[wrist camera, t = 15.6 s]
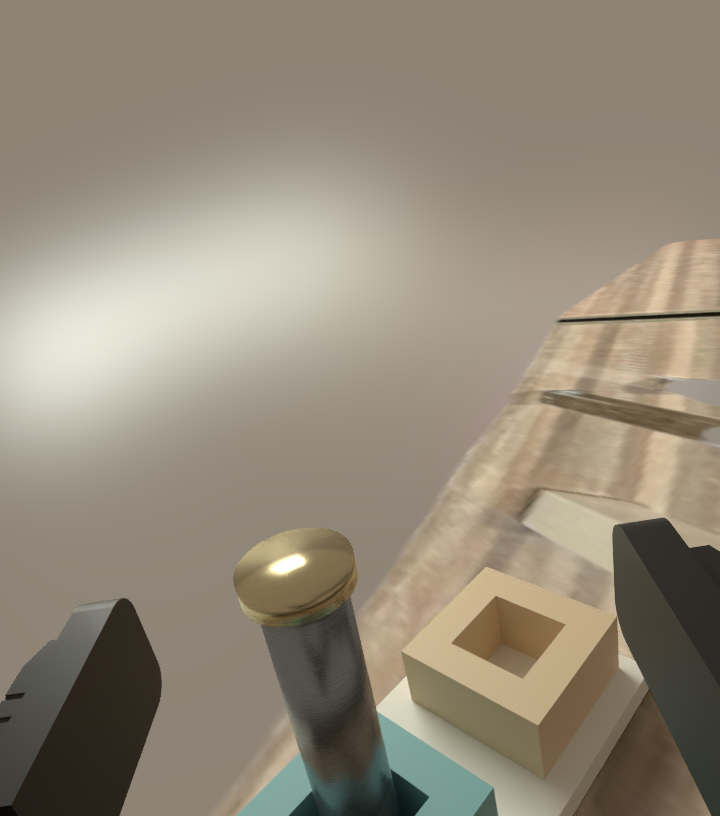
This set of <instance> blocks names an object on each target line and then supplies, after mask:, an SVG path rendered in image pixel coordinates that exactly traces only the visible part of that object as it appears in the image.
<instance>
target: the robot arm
mask: <svg viewBox="0 0 720 816" xmlns="http://www.w3.org/2000/svg"><path fill="white" fill-rule="evenodd" d="M613 562H614V587H615V604H616V611H617V616H618V620H619V624H620V627H621V630H622V633H623V636H624V638H625V641H626V643H627V645H628V647H629V649H630V651H631V653H632V655H633V657H634V659H635V661H636V663H637V665H638V667H639V669H640V671H641V673H642V675H643V677H644V679H645V681H646V683H647V685H648V688H649V690H650V692H651V694H652V696H653V698H654V700H655V702H656V704H657V706H658V708H659V710H660V712H661V714H662V716H663V718H664V720H665V722H666V724H667V726H668V728H669V730H670V732H671V734H672V736H673V738H674V740H675V742H676V744H677V746H678V748H679V750H680V752H681V755H682V757H683V759H684V761H685V763H686V765H687V767H688V769H689V771H690V773H691V775H692V777H693V779H694V781H695V783H696V785H697V787H698V789H699V791H700V793H701V795H702V797H703V799H704V801H705V803H706V805H707V807H708V809H709V811H710V813H711V815H712V816H720V551H718V550H716V549H715V548H713V547H712V546H710V545H706V546H700V547H693V548H689V547H688V546H687V544H686V543H685V542H684V540H683V539H682V538H681V536H680V535H679V534H678V532H677V531H676V530H675V528H674V527H673V526H672V524H671V523H670V522H669V521H668V520H667V519H665V518H658V519H651V520H644V521H638V522H631V523H625V524H618V525H615V526H614V528H613ZM161 681H162V680H161V672H160V667H159V664H158V661H157V660H156V657H155V654H154V652H153V650H152V647H151V645H150V643H149V640H148V638H147V636H146V634H145V631H144V629H143V626H142V624H141V622H140V620H139V617H138V615H137V613H136V610H135V608H134V606H133V604H132V603H131V602H130V601H129V600H128V599H125V598H121V599H115V600H108V601H102V602H95V603H90V604H83V605H80V606H78V607H77V608H76V609H75V610H74V612H73V613H72V615H71V617H70V618H69V620H68V622H67V623H66V625H65V627H64V629H63V630H62V632H61V634H60V635H59V637H58V639H57V640H51V641H49V642H48V643H47V644H46V645H45V646H44V647H43V648H42V649H41V650H40V651H39V652H38V653H37V654H36V655H35V656H34V657H33V658H32V659H31V660H30V661H29V662H28V663H27V664H25V665H24V667H23V668H22V669H21V671H20V673H19V674H18V676H17V677H16V679H15V681H14V682H13V684H12V685H11V687H10V689H9V690H8V692H7V694H6V695H5V696H6V700H5V701H2V702H1V703H0V816H119V815H120V812H121V809H122V807H123V804H124V801H125V798H126V796H127V793H128V790H129V787H130V784H131V781H132V779H133V776H134V773H135V770H136V767H137V764H138V761H139V759H140V756H141V753H142V750H143V747H144V745H145V742H146V739H147V736H148V733H149V730H150V728H151V725H152V722H153V719H154V716H155V714H156V710H157V708H158V705H159V702H160V697H161V687H162V684H161V683H162V682H161Z"/></svg>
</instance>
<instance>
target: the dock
mask: <svg viewBox="0 0 720 816" xmlns="http://www.w3.org/2000/svg"><path fill="white" fill-rule="evenodd" d="M401 652H402V657H403V661H404V666H405V671H406V675H407V676H406V677H405V678H404V679H403V680H402V681H401V682H400V683H399V684H398V685H397V686H396V687H395V688H394V689H393V690H392V691H391V692H390V694H389V695H388V696H387V697H386V698H385V699H384V700H383V701H382V702H381V703H380V704H379V705H378V706H377V707H376V710H377V714H378V719H379V723H380V727H381V732H382V736H383V740H384V744H385V749H386V753H387V757H388V762H389V766H390V770H391V775H392V779H393V783H394V788H395V792H396V796H397V801H398V805H399V809H400V813H401V816H573V815H574V813H575V812H576V810H577V808H578V807H579V805H580V803H581V802H582V800H583V798H584V797H585V795H586V793H587V792H588V790H589V788H590V787H591V785H592V783H593V782H594V780H595V778H596V777H597V775H598V773H599V772H600V770H601V768H602V767H603V765H604V763H605V762H606V760H607V758H608V757H609V755H610V753H611V752H612V750H613V748H614V747H615V745H616V743H617V742H618V740H619V738H620V737H621V735H622V733H623V732H624V730H625V728H626V727H627V725H628V723H629V722H630V720H631V718H632V717H633V715H634V713H635V712H636V710H637V708H638V707H639V705H640V703H641V702H642V700H643V698H644V697H645V695H646V693H647V692H648V690H649V688H648V685H647V683H646V681H645V679H644V677H643V675H642V673H641V671H640V669H639V667H638V665H637V663H636V661H635V660H632V659H630V658H628V657H625V656H623V655H620V654H618V630H617V616H615V615H612V614H610V613H607V612H604V611H602V610H599V609H596V608H594V607H591V606H589V605H586V604H583V603H581V602H578V601H575V600H573V599H570V598H567V597H565V596H562V595H560V594H557V593H554V592H552V591H549V590H546V589H544V588H541V587H538V586H536V585H533V584H530V583H528V582H525V581H523V580H520V579H517V578H515V577H512V576H509V575H507V574H504V573H501V572H499V571H496V570H493V569H491V568H488V567H485V568H484V569H483V570H482V571H481V572H480V573H479V574H478V575H477V576H476V577H475V578H474V579H473V580H472V581H471V582H470V583H469V584H468V585H467V586H466V587H465V588H464V589H463V590H462V591H461V592H460V593H459V594H458V595H457V596H456V597H455V598H454V599H453V600H452V601H451V602H450V603H449V604H448V605H447V606H446V607H445V608H444V609H443V610H442V611H441V612H440V613H439V614H438V615H437V616H436V617H435V618H434V619H433V620H432V621H431V622H430V623H429V624H428V625H427V626H426V627H425V628H424V629H423V630H422V631H421V632H420V633H419V634H418V635H417V636H416V637H415V638H414V639H413V640H412V641H411V642H410V643H409V644H408V645H407V646H406V647H405V648H404V649H403V650H402V651H401ZM236 816H320V815H319V812H318V809H317V806H316V802H315V799H314V796H313V792H312V789H311V786H310V783H309V779H308V776H307V773H306V770H305V766H304V763H303V760H302V757H301V753H299V754H298V755H297V756H296V757H294V758H293V759H292V760H291V761H290V762H289V763H288V764H287V765H286V766H285V767H284V768H283V769H282V770H281V771H280V772H279V773H278V774H277V775H276V776H275V777H274V778H273V779H272V780H271V781H270V782H269V783H268V784H267V785H266V786H265V787H264V788H263V789H262V790H261V791H260V792H259V793H258V794H257V795H256V796H255V797H254V798H253V799H252V800H251V801H250V802H249V803H248V804H247V805H246V806H245V807H244V808H243V809H242V810H241V811H240V812H239V813H238V814H237V815H236Z"/></svg>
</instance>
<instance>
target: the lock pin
mask: <svg viewBox="0 0 720 816" xmlns="http://www.w3.org/2000/svg"><path fill="white" fill-rule="evenodd" d="M233 580H234V586H235V589H236V592H237V595H238V598H239V601H240V605H241V608H242V610H243V611H244V613H245V614H246V616H247V617H249V618H250V619H251V620H253V621H254V622H256V623H259V624H261V626H262V629H263V633H264V636H265V639H266V643H267V645H268V649H269V652H270V656H271V659H272V662H273V665H274V669H275V672H276V675H277V678H278V681H279V685H280V688H281V691H282V694H283V698H284V701H285V704H286V708H287V711H288V714H289V717H290V721H291V724H292V727H293V731H294V734H295V737H296V740H297V744H298V747H299V750H300V753H301V757H302V760H303V763H304V766H305V770H306V773H307V776H308V779H309V783H310V786H311V789H312V792H313V796H314V799H315V802H316V806H317V809H318V812H319V815H320V816H401V813H400V809H399V805H398V801H397V796H396V792H395V788H394V783H393V779H392V775H391V770H390V766H389V762H388V757H387V753H386V749H385V744H384V740H383V736H382V732H381V727H380V723H379V719H378V714H377V710H376V706H375V701H374V697H373V693H372V688H371V684H370V680H369V675H368V671H367V667H366V663H365V658H364V654H363V650H362V645H361V641H360V637H359V632H358V628H357V624H356V619H355V615H354V611H353V606H352V602H351V598H350V596H351V594H352V592H353V591H354V589H355V586H356V584H357V580H358V571H357V566H356V562H355V558H354V552H353V548H352V546H351V544H350V542H349V540H347V538H345V537H344V536H343V535H341V534H340V533H338V532H335V531H333V530H329V529H325V528H300V529H294V530H289V531H286V532H282V533H279V534H277V535H274V536H272V537H270V538H268V539H266V540H264V541H262V542H260V543H259V544H257V545H256V546H254V547H253V548H252V549H251V550H249V552H247V553H246V554H245V555H244V556H243V557H242V559H241V560H240V561H239V563H238V565H237V567H236V569H235V572H234V577H233Z"/></svg>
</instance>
